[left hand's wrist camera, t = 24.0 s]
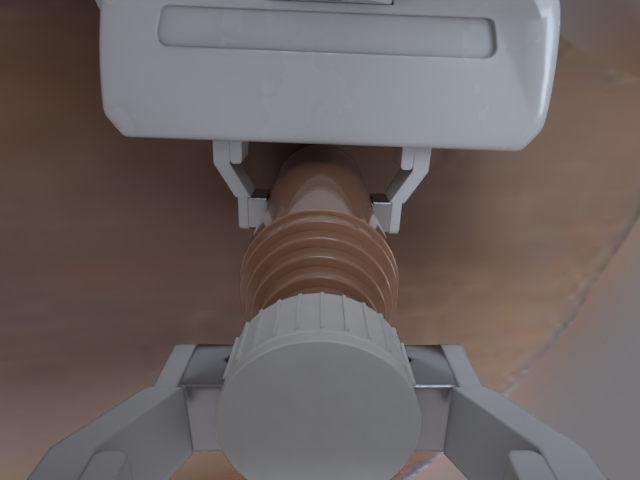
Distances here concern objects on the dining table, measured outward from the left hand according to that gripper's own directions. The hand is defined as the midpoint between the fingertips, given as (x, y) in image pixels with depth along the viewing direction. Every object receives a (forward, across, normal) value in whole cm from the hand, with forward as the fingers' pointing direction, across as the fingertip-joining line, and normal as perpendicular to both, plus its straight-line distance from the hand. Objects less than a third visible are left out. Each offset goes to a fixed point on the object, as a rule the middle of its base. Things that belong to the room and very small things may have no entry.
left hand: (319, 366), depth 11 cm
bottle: (+18, 0, 0) cm, 18 cm away
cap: (-2, 0, 0) cm, 2 cm away
